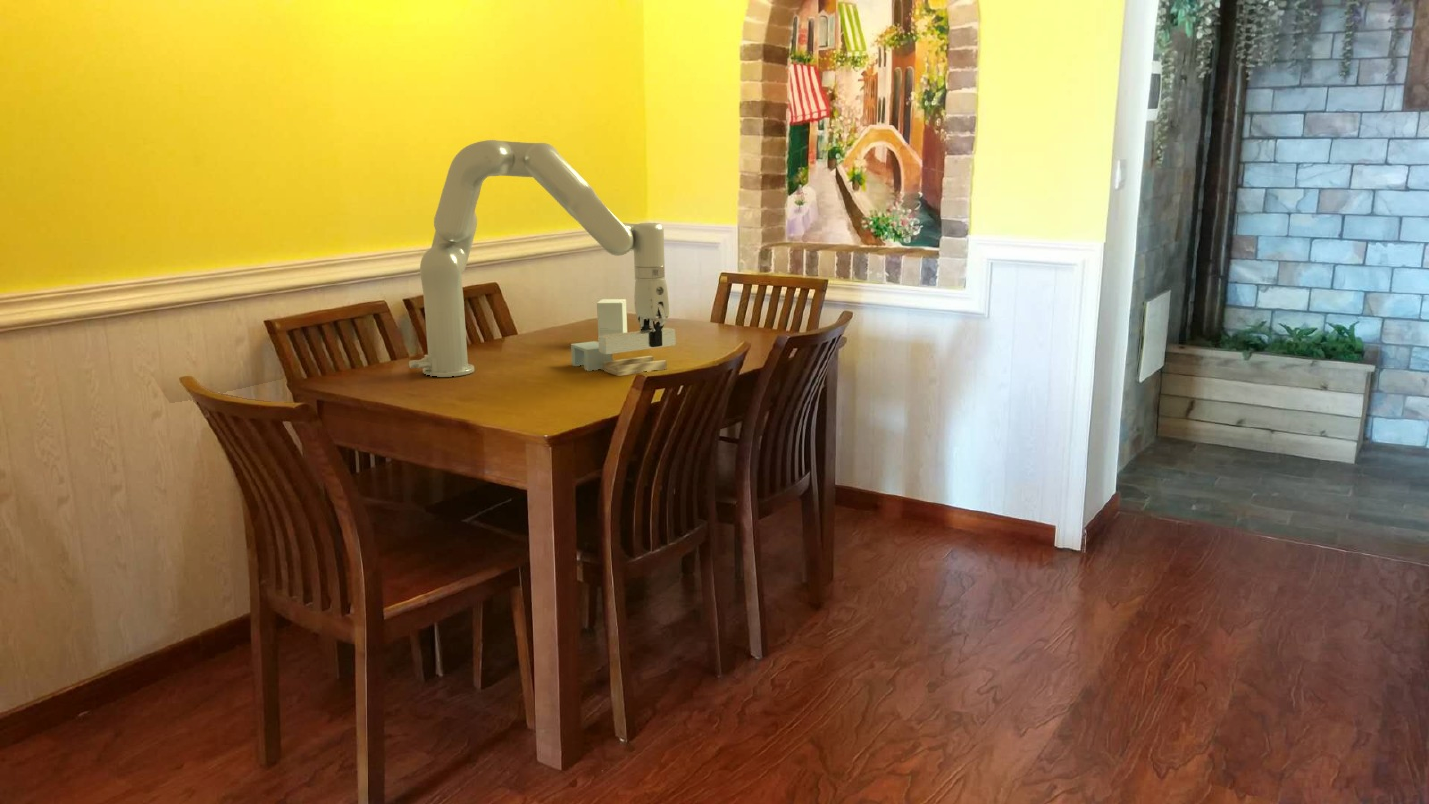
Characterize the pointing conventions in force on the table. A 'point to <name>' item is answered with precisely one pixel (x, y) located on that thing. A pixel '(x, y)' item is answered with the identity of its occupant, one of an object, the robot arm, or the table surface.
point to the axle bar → (633, 341)
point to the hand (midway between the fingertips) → (651, 344)
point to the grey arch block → (588, 355)
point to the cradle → (633, 365)
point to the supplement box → (611, 316)
